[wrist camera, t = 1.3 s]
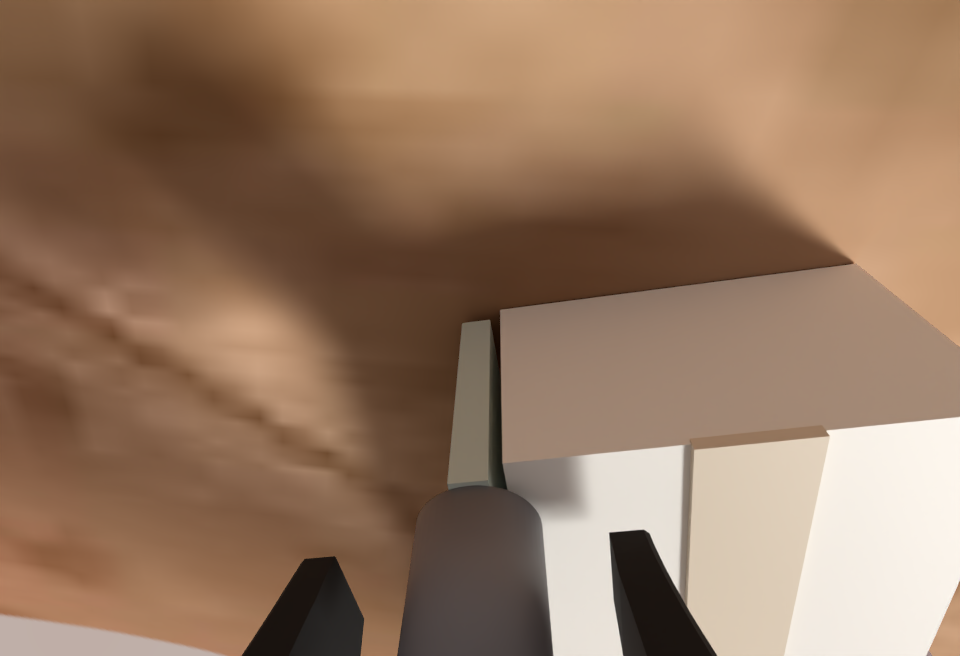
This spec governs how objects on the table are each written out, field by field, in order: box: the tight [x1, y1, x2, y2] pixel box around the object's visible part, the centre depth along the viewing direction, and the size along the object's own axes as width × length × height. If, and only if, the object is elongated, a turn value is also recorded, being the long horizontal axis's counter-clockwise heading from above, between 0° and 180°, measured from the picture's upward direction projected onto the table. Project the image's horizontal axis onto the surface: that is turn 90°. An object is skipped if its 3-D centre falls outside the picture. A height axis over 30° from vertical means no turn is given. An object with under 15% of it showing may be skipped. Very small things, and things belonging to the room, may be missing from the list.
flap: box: [397, 320, 553, 656], centre depth 16 cm, size 14×3×10 cm, turn 9°
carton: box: [500, 264, 960, 656], centre depth 17 cm, size 14×10×6 cm
